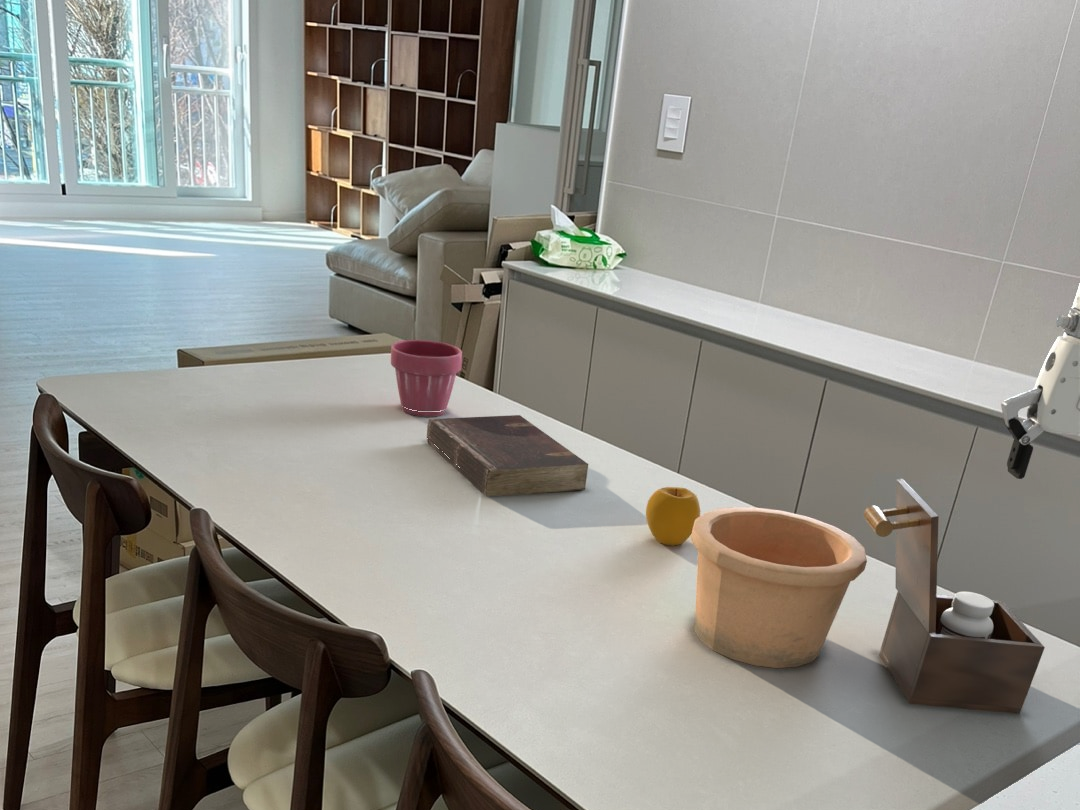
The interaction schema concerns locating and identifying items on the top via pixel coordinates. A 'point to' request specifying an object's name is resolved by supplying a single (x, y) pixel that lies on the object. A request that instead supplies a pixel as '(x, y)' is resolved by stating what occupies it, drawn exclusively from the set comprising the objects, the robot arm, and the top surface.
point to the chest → (961, 660)
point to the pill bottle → (968, 616)
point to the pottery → (770, 583)
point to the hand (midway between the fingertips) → (1054, 478)
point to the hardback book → (506, 455)
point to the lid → (912, 550)
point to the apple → (672, 514)
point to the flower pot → (425, 374)
